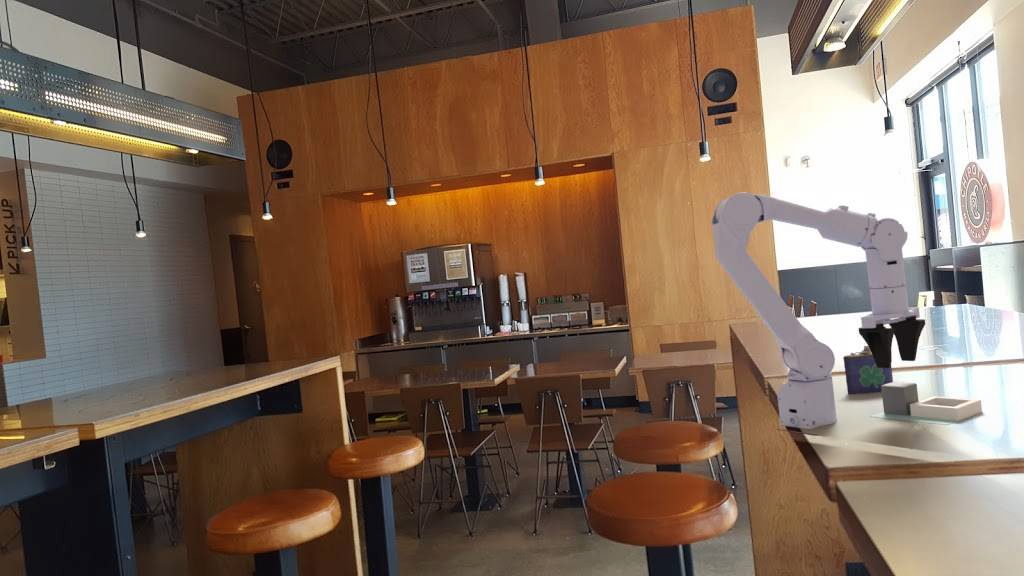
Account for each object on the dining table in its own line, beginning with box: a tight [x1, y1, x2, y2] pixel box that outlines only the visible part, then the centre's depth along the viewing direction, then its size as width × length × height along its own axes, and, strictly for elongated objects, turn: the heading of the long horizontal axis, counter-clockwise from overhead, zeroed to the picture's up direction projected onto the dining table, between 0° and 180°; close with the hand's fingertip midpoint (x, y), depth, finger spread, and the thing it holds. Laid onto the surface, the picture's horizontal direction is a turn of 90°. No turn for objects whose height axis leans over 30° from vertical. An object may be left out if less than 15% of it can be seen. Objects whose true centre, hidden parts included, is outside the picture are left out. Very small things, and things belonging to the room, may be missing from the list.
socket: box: [910, 395, 983, 422], centre depth 117 cm, size 8×8×2 cm
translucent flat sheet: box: [869, 410, 983, 426], centre depth 118 cm, size 11×13×1 cm
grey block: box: [881, 381, 920, 416], centre depth 121 cm, size 4×4×5 cm
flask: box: [843, 345, 894, 395], centre depth 142 cm, size 9×3×11 cm, turn 87°
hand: (896, 364), depth 121 cm, fingers open, 7 cm apart
